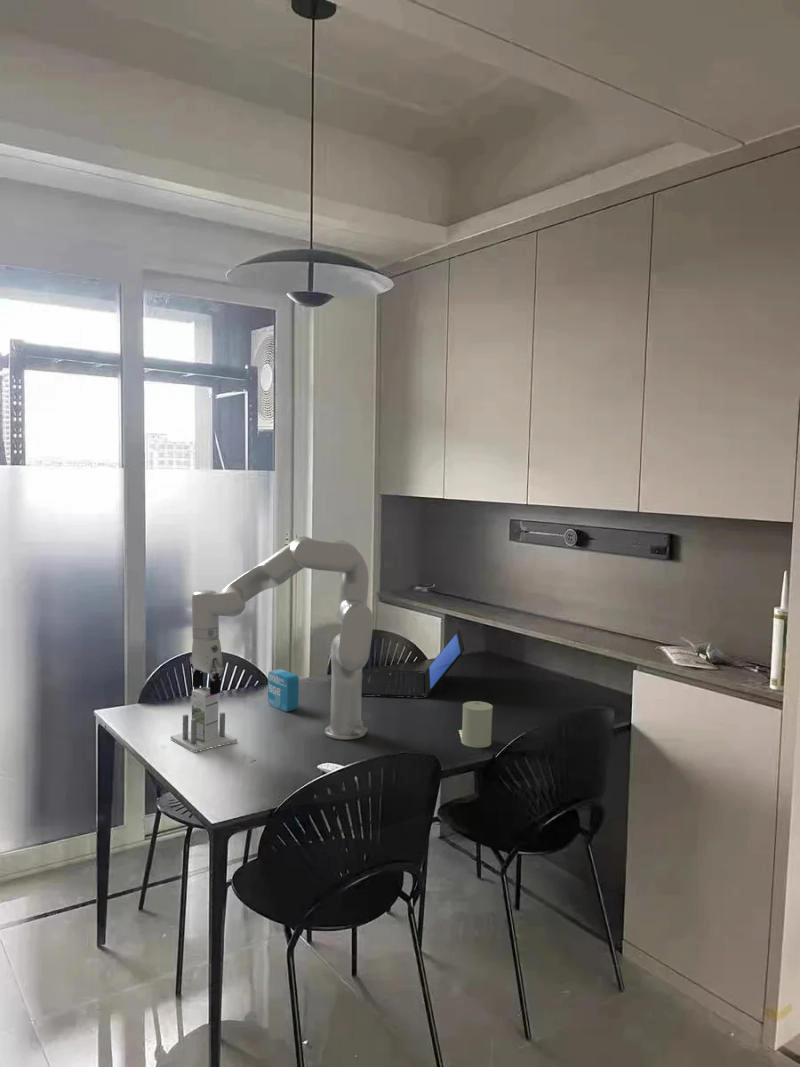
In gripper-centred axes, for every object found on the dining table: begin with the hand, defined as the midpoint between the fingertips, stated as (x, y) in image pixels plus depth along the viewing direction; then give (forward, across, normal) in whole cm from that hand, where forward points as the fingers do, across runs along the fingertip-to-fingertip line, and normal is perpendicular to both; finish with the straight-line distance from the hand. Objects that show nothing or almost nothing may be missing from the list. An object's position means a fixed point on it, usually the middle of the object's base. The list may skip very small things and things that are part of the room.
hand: (206, 689), depth 232 cm
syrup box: (+15, 0, +1) cm, 15 cm away
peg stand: (+15, 0, +1) cm, 15 cm away
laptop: (+18, +4, -90) cm, 92 cm away
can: (+18, -52, -62) cm, 83 cm away
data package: (+16, +12, -36) cm, 42 cm away
